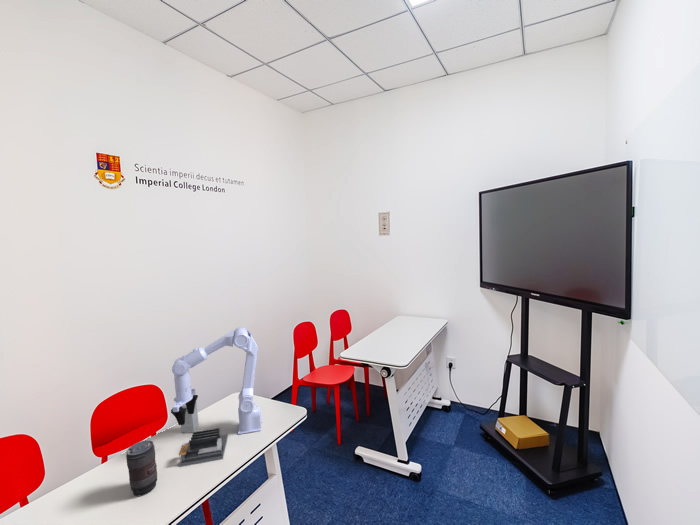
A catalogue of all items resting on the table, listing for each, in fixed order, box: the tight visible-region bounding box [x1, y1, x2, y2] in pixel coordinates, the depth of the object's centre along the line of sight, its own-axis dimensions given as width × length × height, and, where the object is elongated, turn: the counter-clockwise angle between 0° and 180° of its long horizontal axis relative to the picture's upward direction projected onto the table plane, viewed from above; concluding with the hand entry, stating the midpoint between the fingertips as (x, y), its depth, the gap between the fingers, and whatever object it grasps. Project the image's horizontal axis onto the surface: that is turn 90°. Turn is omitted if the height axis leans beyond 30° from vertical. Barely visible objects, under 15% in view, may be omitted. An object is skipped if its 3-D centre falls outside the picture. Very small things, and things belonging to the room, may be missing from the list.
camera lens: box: [125, 439, 158, 497], centre depth 111 cm, size 8×8×15 cm
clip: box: [198, 438, 222, 455], centre depth 127 cm, size 8×2×4 cm, turn 103°
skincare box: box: [180, 401, 200, 433], centre depth 144 cm, size 6×4×12 cm
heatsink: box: [178, 427, 229, 467], centre depth 130 cm, size 15×14×5 cm
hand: (186, 418), depth 136 cm, fingers open, 7 cm apart
